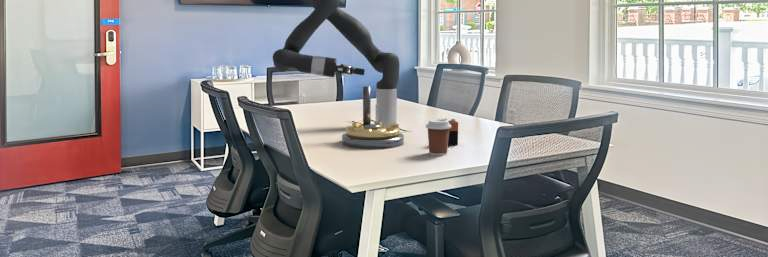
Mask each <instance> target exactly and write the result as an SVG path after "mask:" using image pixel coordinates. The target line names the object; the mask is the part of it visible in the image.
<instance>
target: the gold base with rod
mask: <svg viewBox="0 0 768 257" xmlns="http://www.w3.org/2000/svg"><path fill="white" fill-rule="evenodd" d="M371 93H372V92H371V86H370V85H365V86H364V85H363V86H362V123H361V122H357V121H355V122H352V123H351V125H346V127H345V133H346V136H348V137H351V138H356V139H389V138H395V137H398V136H400V133H401V128H400V126H399V125H400V124H398V123H397V124H391V125H383V124H382V122H379V121H376V120H375V121H374V123H371V120H372V119H371V117H372V116H371V112H372V111H371V108H372V107H371V106H372V104H371V97H372V96H371Z"/></svg>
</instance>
